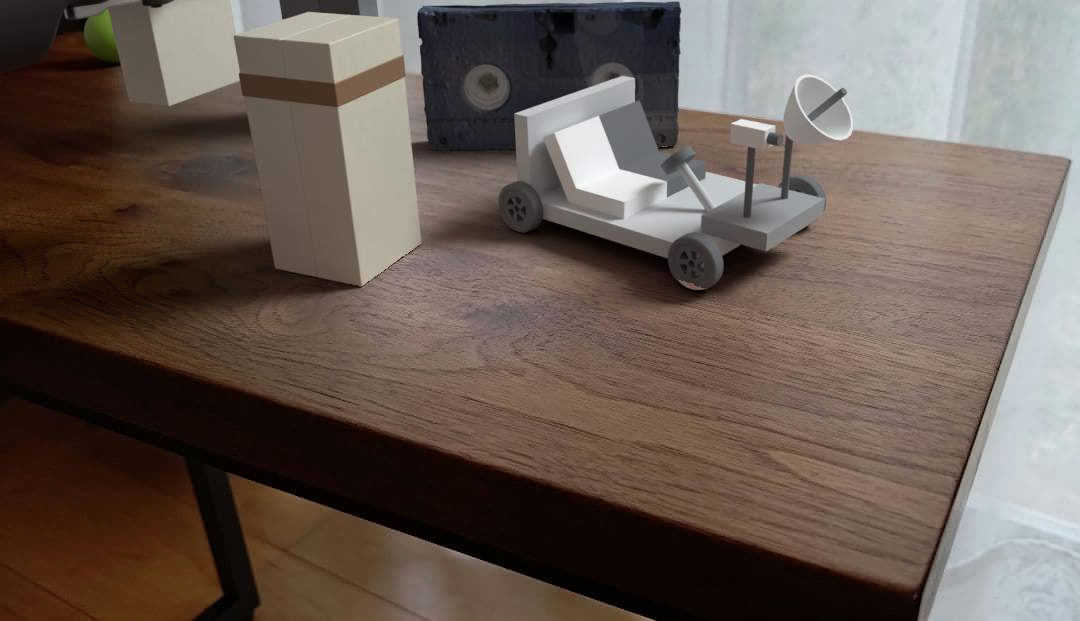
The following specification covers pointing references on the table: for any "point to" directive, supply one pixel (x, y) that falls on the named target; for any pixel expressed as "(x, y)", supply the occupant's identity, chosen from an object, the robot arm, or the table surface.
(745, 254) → the table surface
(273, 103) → the cream brown-striped block
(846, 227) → the table surface
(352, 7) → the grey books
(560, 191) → the toy car
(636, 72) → the vhs cassette tape
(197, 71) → the cream rectangular block
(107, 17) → the snail figurine
